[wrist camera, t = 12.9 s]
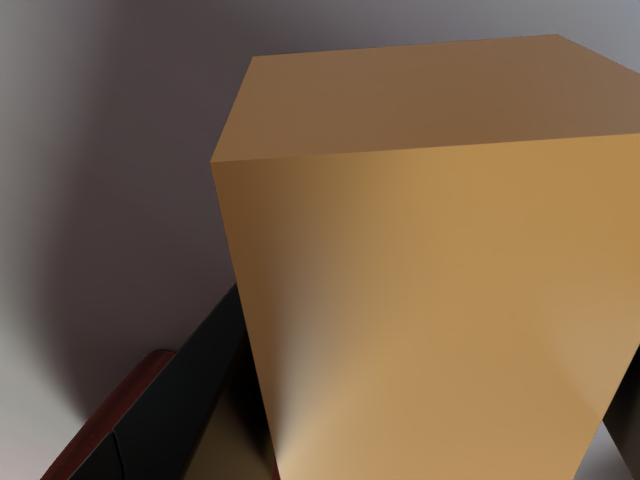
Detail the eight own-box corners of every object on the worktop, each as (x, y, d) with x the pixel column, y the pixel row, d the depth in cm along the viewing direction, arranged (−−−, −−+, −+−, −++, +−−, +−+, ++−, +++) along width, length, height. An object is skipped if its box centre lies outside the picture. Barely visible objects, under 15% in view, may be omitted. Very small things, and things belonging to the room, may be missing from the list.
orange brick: (296, 364, 11) (292, 529, 8) (253, 56, 7) (209, 162, 4) (487, 353, 11) (554, 517, 8) (556, 34, 7) (747, 125, 4)
